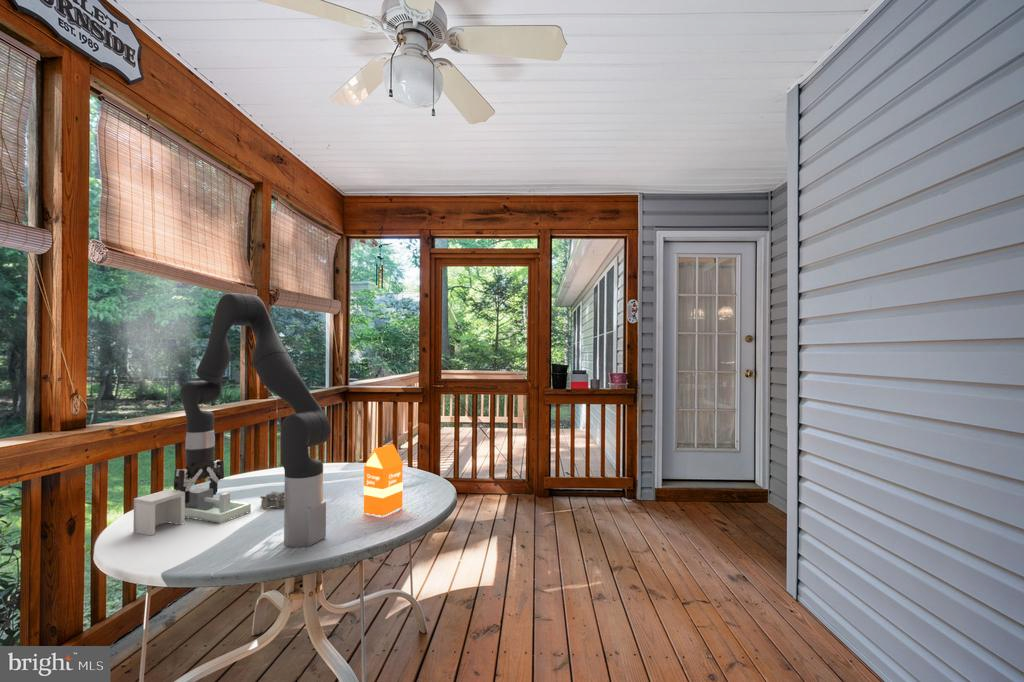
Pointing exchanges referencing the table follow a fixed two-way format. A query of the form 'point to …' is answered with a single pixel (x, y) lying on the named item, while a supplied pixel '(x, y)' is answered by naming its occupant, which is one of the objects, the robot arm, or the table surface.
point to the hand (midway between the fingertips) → (199, 498)
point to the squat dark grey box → (207, 499)
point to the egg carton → (273, 499)
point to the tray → (214, 514)
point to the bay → (158, 510)
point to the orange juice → (383, 481)
